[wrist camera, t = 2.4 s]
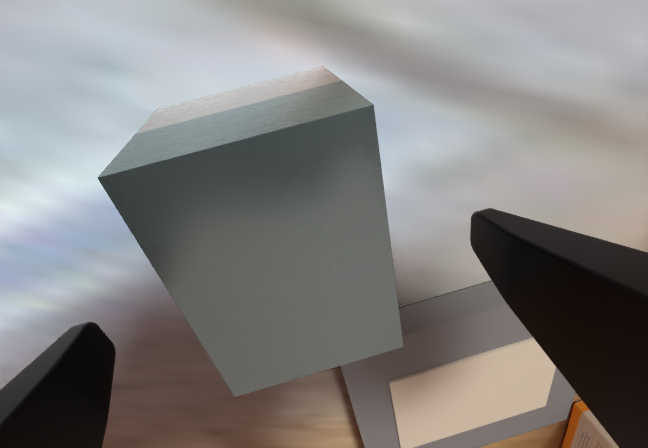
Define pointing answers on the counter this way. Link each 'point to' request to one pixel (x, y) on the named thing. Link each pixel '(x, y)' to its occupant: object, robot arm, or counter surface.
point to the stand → (457, 377)
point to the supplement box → (586, 430)
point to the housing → (267, 225)
